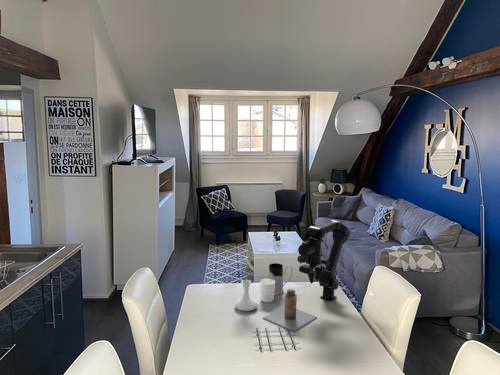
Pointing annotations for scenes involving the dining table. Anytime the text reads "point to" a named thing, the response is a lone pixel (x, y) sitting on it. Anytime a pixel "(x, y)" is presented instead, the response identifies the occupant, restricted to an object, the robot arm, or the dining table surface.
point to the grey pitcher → (278, 276)
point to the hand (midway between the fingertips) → (314, 281)
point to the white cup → (267, 290)
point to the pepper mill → (290, 304)
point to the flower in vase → (246, 294)
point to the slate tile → (291, 325)
